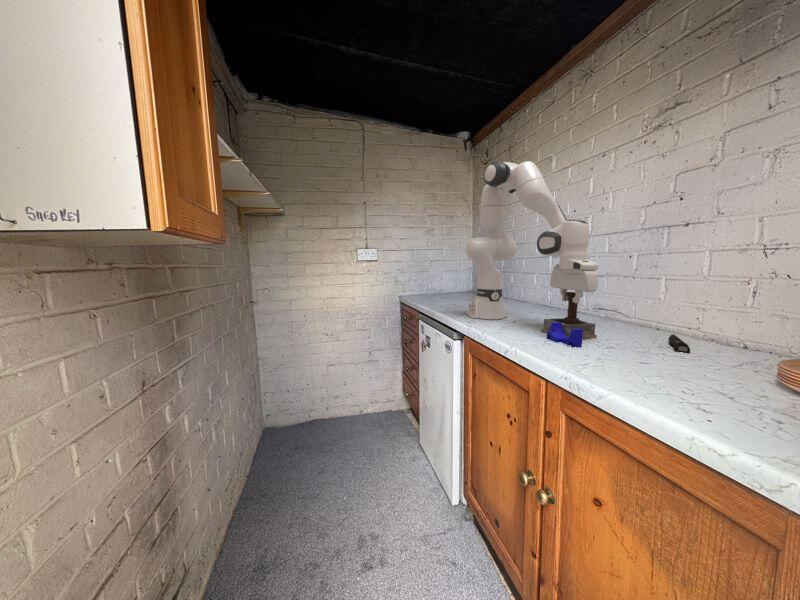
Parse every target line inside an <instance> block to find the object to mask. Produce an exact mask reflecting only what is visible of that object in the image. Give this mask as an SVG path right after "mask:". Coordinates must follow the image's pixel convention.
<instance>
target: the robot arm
mask: <svg viewBox="0 0 800 600" xmlns="http://www.w3.org/2000/svg"><path fill="white" fill-rule="evenodd" d="M483 181H484V183H485V186H484V187H483V188H482V193H481V197H480V209H479V211H480V214H479V222H480V226H481V228H483V229H484V230H485V231H487V233H488V236H477V237H472V238H470V239H468V241H467V242H466V243H465V244H466V245H465V254H466V256H467V257H468V258H469V259H470V260H471V261H472V262H473V264H474V266H475V267H476V271H477V277H478V278H477V282H478V284H477V285H478V286H477V289H476V294H475V295H476V296H475V297H474V298H473V299H472V301H470V303H468V309H469V310H466V311H465V314H466V315H467V316H468V317H470V318H471V319H482V320H502V319H504V318H507V316H508V315H507V313H506V314H505V300H504V299H503V289H502V287H503V285H502V284H503V273H502V271H500V269H499V268H497V267H496V266H495V264H494V261H504V260H509V259H512V258H514V257H515V256H516V253H517V250H518V245H517V243H516V242H517V241H515V239H514V238H512V237H511V235H510V234H509V232H508V230H507V227H506V221H505V220H506V219H505V218H506V217H505V213H506V212H505V209H506V207H505V206H506V205H505V204H506V202H505V200H506V199H505V198H506V195H507V194H508V193H509V194H514V193H515V192H516V194H517V198H518V199H519V201H520V203H521V205H522V206H523V207H524V208H526V209H528V210H531V211H533V212H535V213H537V214H539V215H541V216H542V217H544V218H545V219H546V221H547V222H548V225H549V226H550V229H548V230H546V231H543V232H542V233H540V235H539V236H538V238H537V240H536V248H537V251H538V253H540V254H541V255H544V256H552V257H559V263H557V264H555V265H554V267H553V268H552V271H551V274H550V280H549V281H550V282H549V285H550V287H551V288H552V289H553V288H554V289H559V293H560V296H561V301H562V302H568V296H565V292H568V290H569V291H574V292H575V294H576V295H575V297H574V298H573V299H572V300H573V301H572V302H573V303H578V304H579V303H580V300H581V298H582V297H581V296H582V294H583V295H584V292H585V293H593V292H596V290H597V288H598V286H599V285H598V281H599V275H598V274H599V273H598V272H597V271H598V270H599V266H600V265H599V263H597V262H595V261H592V260H590V259H588V251H587V249H588V247H589V243H590V242H589V241H590V230H589V228H590V227H589V224H588V222H587V221H586V220H581V219H572V218H571V219H567V217H566V216H565V214H564V212H563V210H562V208H561V206H560V205H559V203H558V202H557V201H556V199H555V198H554V196H553V195H552V193H551V191H550V189H549V188H548V185H547V183H546V181H545V179H544V176H543V175H542V173H541V171H540V169H539V168H538V166H537V165H536V164H535V163H534V162H533V161H530V160H528V161H523V162H520V163H519V164H517V163H514V162H512V161H511V162H509V161H508V162H507V161H501V160H495V161H491V162H489V163H488V164H487V165H486V167H485V169H484V172H483Z"/></svg>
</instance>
